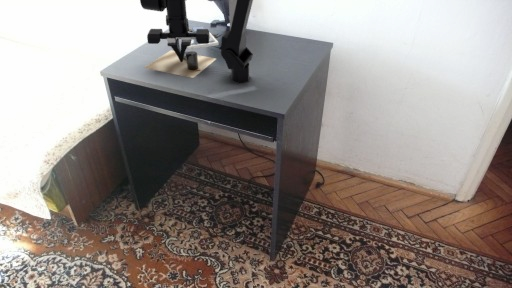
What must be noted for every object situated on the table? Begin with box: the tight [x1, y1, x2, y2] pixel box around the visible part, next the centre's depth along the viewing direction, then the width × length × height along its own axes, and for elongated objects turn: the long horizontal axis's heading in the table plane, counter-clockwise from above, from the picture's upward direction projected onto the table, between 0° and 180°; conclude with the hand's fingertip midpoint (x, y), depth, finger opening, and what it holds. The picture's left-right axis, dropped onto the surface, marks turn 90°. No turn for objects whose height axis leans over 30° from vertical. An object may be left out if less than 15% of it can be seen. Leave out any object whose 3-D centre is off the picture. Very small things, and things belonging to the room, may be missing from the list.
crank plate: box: [143, 49, 217, 79], centre depth 121 cm, size 19×16×2 cm
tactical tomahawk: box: [188, 28, 223, 39], centre depth 149 cm, size 21×7×1 cm, turn 62°
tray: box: [186, 31, 220, 50], centre depth 136 cm, size 12×12×2 cm
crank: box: [183, 50, 198, 70], centre depth 120 cm, size 14×4×5 cm, turn 21°
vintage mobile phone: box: [228, 0, 237, 30], centre depth 140 cm, size 4×5×25 cm
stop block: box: [191, 26, 205, 45], centre depth 135 cm, size 4×4×6 cm
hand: (181, 61), depth 115 cm, fingers closed
